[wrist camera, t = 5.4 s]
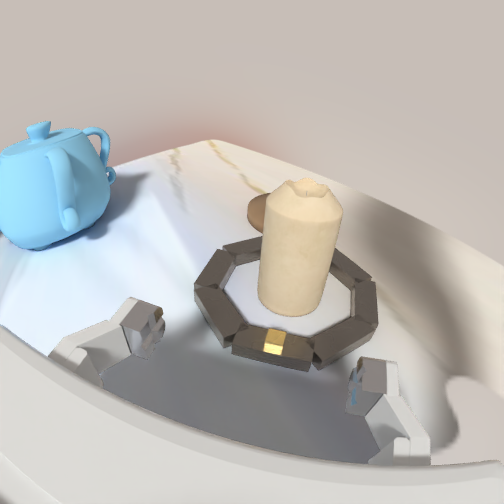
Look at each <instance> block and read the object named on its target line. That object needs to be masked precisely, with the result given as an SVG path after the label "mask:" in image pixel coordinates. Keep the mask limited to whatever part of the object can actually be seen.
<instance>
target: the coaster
mask: <svg viewBox="0 0 504 504" xmlns="http://www.w3.org/2000/svg"><path fill="white" fill-rule="evenodd" d="M269 194H271V193H267V194H263V195H260V196H257V197H255V198H254V199H252V200H251V201H250V202H249V204H248V214H247V217H248V221H249V222H250V224H251V225H252V226H253V227H254V228H255V229H256V230H258V231H259V232H261V233H263V227H264V217H265V207H266V199H267V197H268V195H269Z"/></svg>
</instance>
